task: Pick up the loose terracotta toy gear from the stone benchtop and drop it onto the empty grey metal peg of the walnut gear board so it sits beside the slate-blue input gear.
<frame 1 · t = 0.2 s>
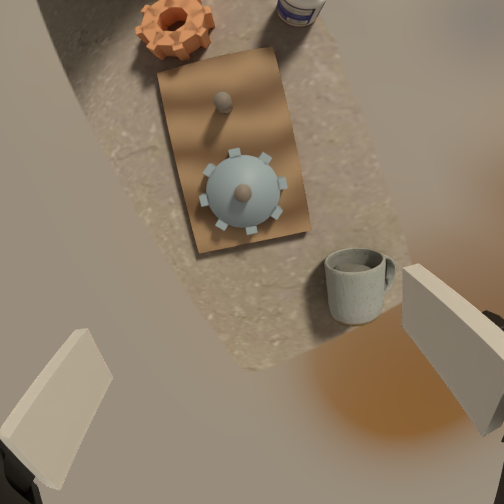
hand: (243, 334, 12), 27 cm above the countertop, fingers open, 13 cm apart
walnut board: (234, 147, 35), on the countertop
terracotta gear: (179, 32, 30), on the countertop
ceramic mug: (355, 271, 41), on the countertop
slate gear: (243, 189, 35), resting on walnut board
pill bottle: (296, 11, 30), on the countertop
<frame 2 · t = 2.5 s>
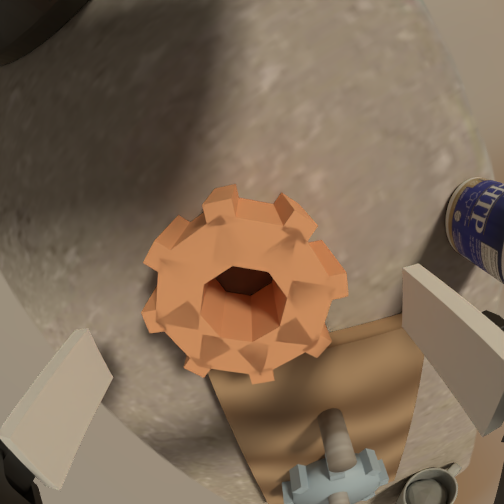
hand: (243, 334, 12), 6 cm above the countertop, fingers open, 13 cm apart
walnut board: (328, 437, 22), on the countertop
terracotta gear: (243, 265, 17), on the countertop
ceramic mug: (423, 476, 28), on the countertop
slate gear: (333, 475, 22), resting on walnut board
pill bottle: (470, 215, 16), on the countertop
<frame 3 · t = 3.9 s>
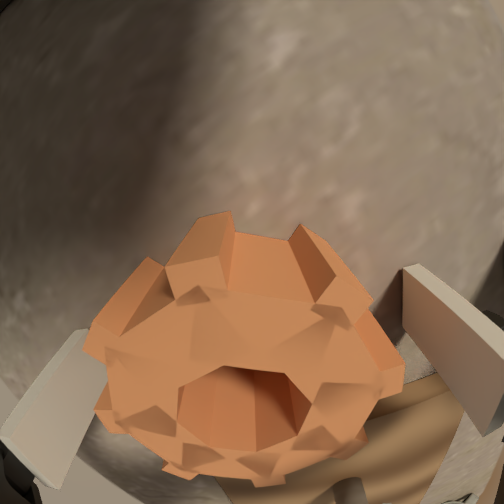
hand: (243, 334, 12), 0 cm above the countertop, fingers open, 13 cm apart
walnut board: (341, 494, 17), on the countertop
terracotta gear: (243, 327, 11), on the countertop
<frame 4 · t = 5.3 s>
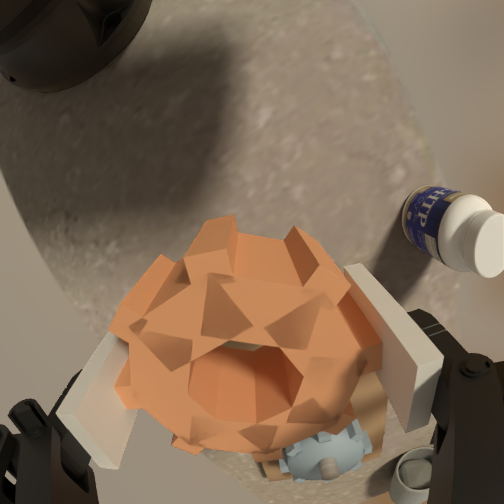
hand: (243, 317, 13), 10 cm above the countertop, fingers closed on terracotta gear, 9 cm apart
walnut board: (317, 406, 28), on the countertop
terracotta gear: (244, 317, 13), point 10 cm above the countertop, touching gripper
ceramic mug: (416, 457, 33), on the countertop
slate gear: (323, 444, 28), resting on walnut board
pill bottle: (425, 216, 22), on the countertop
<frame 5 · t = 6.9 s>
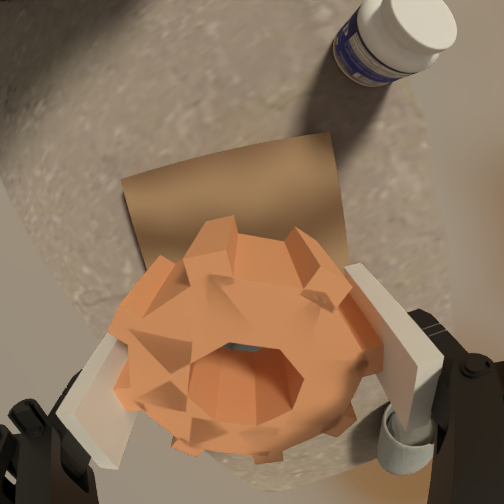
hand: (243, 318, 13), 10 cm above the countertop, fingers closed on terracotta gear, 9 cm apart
walnut board: (258, 303, 24), on the countertop
terracotta gear: (245, 318, 13), point 10 cm above the countertop, touching gripper
ceramic mug: (409, 409, 29), on the countertop
pill bottle: (364, 56, 18), on the countertop
when the fingers open (2 cm above the countertop, at t = 8.9 s): terracotta gear stays where it is, resting on walnut board.
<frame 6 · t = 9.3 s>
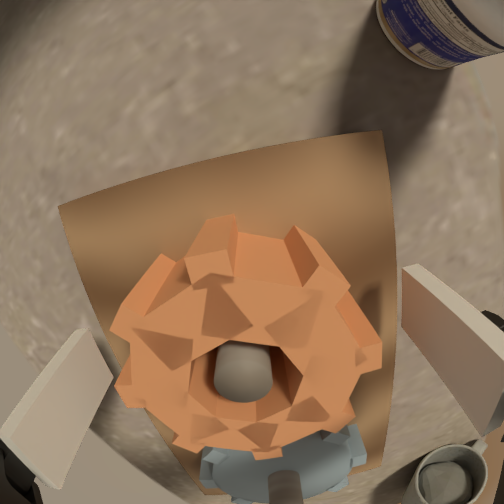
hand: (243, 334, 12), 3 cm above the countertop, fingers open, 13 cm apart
walnut board: (264, 375, 16), on the countertop
terracotta gear: (244, 315, 13), point 1 cm above the countertop, touching walnut board
ceramic mug: (439, 459, 21), on the countertop
slate gear: (280, 445, 16), resting on walnut board
pill bottle: (417, 26, 11), on the countertop
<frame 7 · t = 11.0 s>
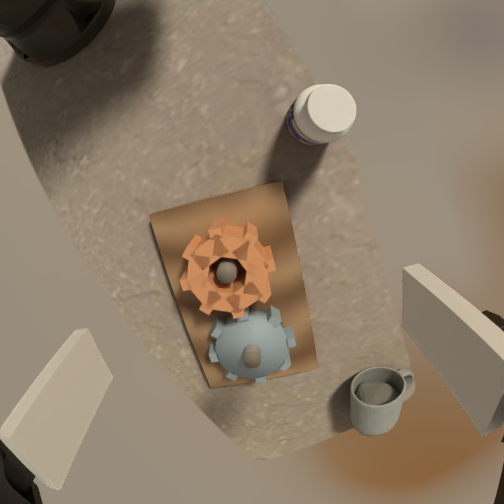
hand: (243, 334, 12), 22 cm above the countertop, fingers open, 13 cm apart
walnut board: (241, 295, 35), on the countertop
terracotta gear: (229, 260, 32), point 1 cm above the countertop, touching walnut board
ceramic mug: (376, 382, 40), on the countertop
slate gear: (251, 338, 35), resting on walnut board
pill bottle: (310, 121, 30), on the countertop
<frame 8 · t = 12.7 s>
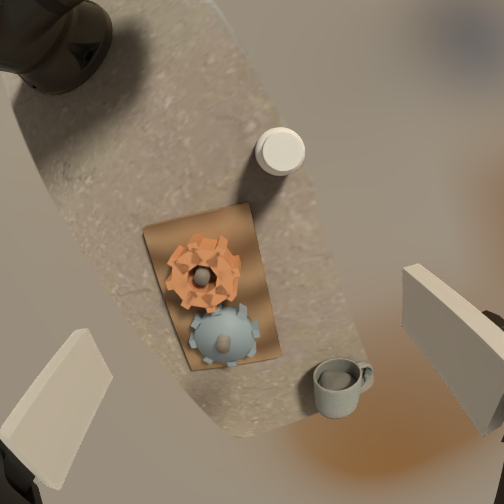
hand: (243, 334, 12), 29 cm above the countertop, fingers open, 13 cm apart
walnut board: (216, 294, 42), on the countertop
terracotta gear: (206, 265, 40), point 1 cm above the countertop, touching walnut board
ceramic mug: (339, 372, 48), on the countertop
slate gear: (225, 329, 43), resting on walnut board
pill bottle: (275, 151, 37), on the countertop
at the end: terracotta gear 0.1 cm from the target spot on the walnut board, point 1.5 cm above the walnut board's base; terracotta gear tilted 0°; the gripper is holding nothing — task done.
